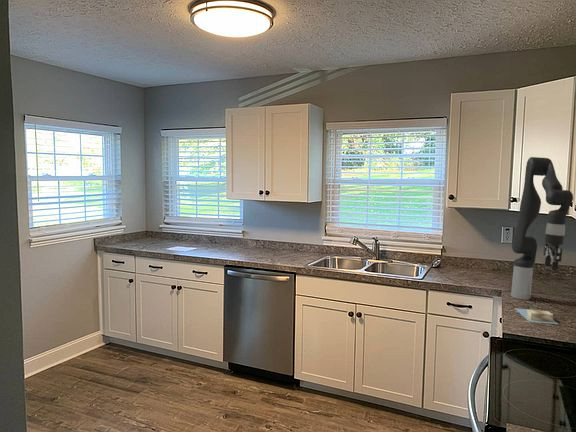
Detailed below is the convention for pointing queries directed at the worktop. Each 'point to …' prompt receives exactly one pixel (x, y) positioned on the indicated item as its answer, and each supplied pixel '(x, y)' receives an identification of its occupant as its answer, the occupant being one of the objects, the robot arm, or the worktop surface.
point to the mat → (524, 314)
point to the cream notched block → (540, 315)
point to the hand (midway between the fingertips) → (550, 267)
